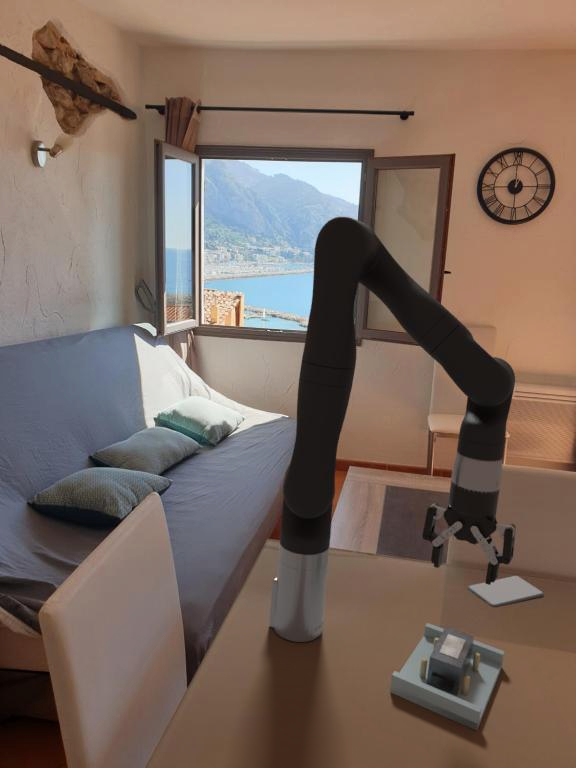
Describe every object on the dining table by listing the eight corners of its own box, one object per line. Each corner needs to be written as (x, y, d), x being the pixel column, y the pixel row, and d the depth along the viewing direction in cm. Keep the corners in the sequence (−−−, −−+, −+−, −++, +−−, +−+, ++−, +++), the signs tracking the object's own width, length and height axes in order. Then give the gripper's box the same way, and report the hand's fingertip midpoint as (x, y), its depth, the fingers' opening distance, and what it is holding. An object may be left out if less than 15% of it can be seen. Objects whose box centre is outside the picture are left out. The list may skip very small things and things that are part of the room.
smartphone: (466, 585, 131) (516, 574, 137) (465, 589, 131) (516, 578, 137) (493, 605, 123) (545, 593, 130) (492, 609, 124) (544, 597, 130)
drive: (441, 651, 105) (445, 626, 104) (470, 662, 103) (474, 636, 102) (425, 685, 96) (429, 657, 95) (456, 697, 94) (460, 669, 93)
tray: (390, 692, 96) (392, 669, 95) (425, 638, 111) (427, 617, 110) (476, 730, 89) (480, 706, 88) (502, 667, 104) (505, 646, 103)
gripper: (526, 486, 94) (511, 579, 97) (439, 465, 101) (428, 552, 104) (517, 499, 88) (501, 598, 91) (425, 476, 95) (413, 569, 98)
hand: (462, 574), depth 98 cm, fingers open, 8 cm apart
